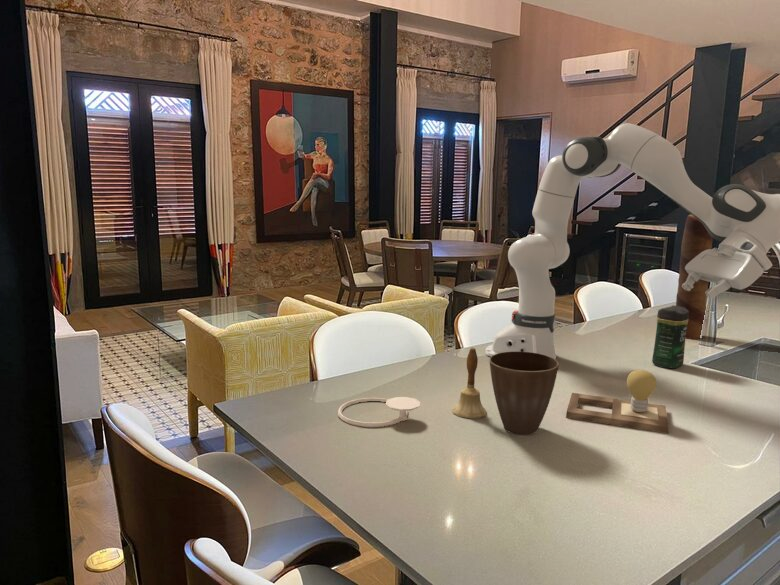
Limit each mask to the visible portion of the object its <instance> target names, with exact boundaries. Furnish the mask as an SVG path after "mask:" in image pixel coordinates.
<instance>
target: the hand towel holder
mask: <svg viewBox="0 0 780 585" xmlns="http://www.w3.org/2000/svg"><path fill="white" fill-rule="evenodd" d="M367 401H381V402H380V403H384V402H386V403H385V405H386V406H387V407H388V408H389V409H391V410H394V411H399V416H398V417H397V418H395V419H391V420H387V421H379V422H378V421H377V422H370V421H369V422H368V421H367V422H366V421H365V422H364V421H359V420H354V419H351V418H348V417H346V416H345V415H343V410H344V409H346V408H347V407H349V406H352V405H355V404H360V403H359V402H361V403H368V402H367ZM420 404H421V401H419V400H418V399H417V398H413V397H407V396H397V397H396V396H395V397H391V398H383V397H364V398H355V399H352V400H348V401H347V402H345V403H343V404H342V405H340V406H339V407H338V410H337V416H338V418H340V420H341V421H343V422H345V423H347V424H349V425H352V426H355V427H363V428H384V426H385V427H389V425H390V426H394V425H397V424H400V423H401V422H406V421H407V419H408V415H409V412H411V411H414V410H415V409H418V408H419V407H420ZM405 420H406V421H405ZM400 421H401V422H400ZM396 423H397V424H396ZM393 424H394V425H393Z"/></svg>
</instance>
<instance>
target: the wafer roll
mask: <svg viewBox="0 0 780 585" xmlns="http://www.w3.org/2000/svg"><path fill="white" fill-rule="evenodd" d="M682 234H683V236H682V238H681V247H680V248H681V249H680V256H679V258H680V260H679V261H680V262H679V272H678V281H677V282H678V283H677V284H678V286H677V292H676V296H675V297H676V299H675V301H676V302H675V306H680V307H685V308H686V309H687V310H688V311H689V318H688V324H687V329H686V338H685V339H689V338H690V340H692V339H695V340H700V339H699V338H700V335H701V330H702V324H703V320H704V315H705V310H706V311H707V295H706V294H705V292H706V291H707V290H708V289H709V283H710V282H709V281H705V280H701V279H699V280H698V281H697V282H696V281H695V283H694V284H693V286H694V287H693V288H692V289H691V290H690V291H687V290H684V289H683V288H682V285H683V284H684V283H685V282H686V280H687V278H688V275H689V274H688V273H687V271H686V270H685V267H686V265H687V264H688V263H689V262H690V261H691V260H692V259H694V258H695V257H696V256H697V255H699V254H700V253H701V252H703V251H705V250H708V249H713V247H712V246H713V242H714V241H713V240H714V238H712V237H711V236H710V234H709V233H708V232H707V230H706V228H705V227H704V225H703V224H702V223H701V222H700V221H699V220H698V219H697V218H696V217H694V216H693V215H692V214H688V215H687V218H686V221H685V224H684V229H683V233H682Z"/></svg>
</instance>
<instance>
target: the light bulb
mask: <svg viewBox="0 0 780 585" xmlns="http://www.w3.org/2000/svg"><path fill="white" fill-rule="evenodd" d="M626 386H627V389H628V391H629V392H630V394H631V395H632V396H631V398H630V399H631V400H630V401H631V409H632V410H633V411H635V412H640V413H643V412H645V411H647V410H648V403H649V397H651V395H652V394H653V393H654V392H655V390H656V388H657V380H656V377H655V375H654V374H653V373H652V372H650V371H648V370H644V369H635V370H633V371H631V372H630V373H629V374H628V376H627V377H626Z"/></svg>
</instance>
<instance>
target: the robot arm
mask: <svg viewBox="0 0 780 585" xmlns="http://www.w3.org/2000/svg"><path fill="white" fill-rule="evenodd" d="M562 151H563V152H562V155H561V154H560V155H555V156H554V157H551V159H550V160H549V161H548V162H547V165H546V167H545V169H544V171H543V174H542V176H541V180H540V182H539V186H538V189H537V193H536V196H535V200H534V202H533V208H532V211H531V212H532V213H531V214H532V217H533V219H534V226H535V227H534V234H533V236H524V237H522V238H520V239H518V240H516V241H514V242H513V243H511V245H510V247H509V249H508V251H507V258H508V262H509V264H510V266H511V267H512V268H513V269H514V271H515V275H516V277H517V283H518V292H519V293H518V310H517V309H514V311H512V312H511V313H512V314H511V323H509V324H507V325H506V326H504V327H503V328H501V329H500V330H498V331H497V332H496V333H495V335H494V337H493V341H492V344H489V345H488V346H487V347H486V348H485V351H484V353H485V355H486V356H488V357H491V356H493V355H495V354H498V353H502V352H532V353H538V354H542V355H546V356H549V357H552V358H554V359H555V360H557V359H556V358H557V355H556V350H555V343H554V342H555V339H554V331H555V328H556V314H555V300H556V289H555V287H554V286H553V284H552V282H551V279H550V274H549V270H551V269H555V268H558V267H559V266H561V265H563V264H564V263H566V261H567V260H568V258H569V256H570V253H571V252H570V244H569V243H568V224H569V219H570V215H571V211H572V208H573V205H574V200H575V198H576V194H577V190H578V187H579V184H580V183H581V181H582V180H583V179H585V178H588V179H589V178H590V179H591V178H604V177H607V176H611V175H613V174H615V173H616V172H617V171H618V170H619V169H620V168H621V166H623V167H624V168H626V169H628V170H630V171H631V172H633V173H634V174H636V175H637V176H639V177H641V178H642V179H644V181H647V182H648V183H649V184H650V185H652V186H654V187H655V188H656V189H658V190H660V191H661V192H662V193H663V194H664V195H666V196H667V197H668V198H669V199H670V200H672V202H674V203H676V204H677V205H678V206H680V207H681V208H682V209H684V210H685V211H686V212H687V213H689V215H693V216H694V217H696V218H697V219H698V220H699V221H700V222H701V223H702V224H703V225H704V227H705V228H706V230H707V232H708V233H709V234H710V236H711V237H712V238H713V240H715V241H717V242H720V243H719V244H718V247H714V248H713V247H712V248H711V249H708V250H705V251H703V252H701V253H700V254H699V255H697V256H696V257H695V258H694V259H692V260H691V261H690V262H689V263H688V264H687V265H686V267H685V270H686V271H687V273H688V274H689V275H688V278H687V280H686V282H685V283H684V284H683V285H682V288H683V289H684V290H687V291H690V290H691V289H692V288H693V287H694V286H693V284H694V283H695V281H696V282H697V281H698V280H699V279H701V280H705V281H709V283H712V284H716V285H714V286H713V287H708V290H707V291H706V292H705V294H706V297H708V298H710V299H714V298H715V297H717V296H718V295H719V294H722V293H724V292H725V291H728V290H729V289H730V288H733V289H736V290H739V291H741V290H744V289H746V288H748V287H749V286H751V285H753V283H755V281H757V280H758V279H759V278H760V277H762V275H763V273H764V272H765V271H768V270H769V269H771V267H773V263H772V261H771V260H770V258H769V257H768V256H767V254H768V252H769V250H771V248H772V247H774V246H775V245H777V244H779V243H780V193H774V194H773V193H772V194H770V193H764V192H760V191H756V190H753V189H752V188H750V187H748V186H747V185H743V184H740V183H734V184H733V183H732V184H726V185H724V186H722V187H720V188H719V189H717V190H716V191H715V193H713V196H710V195H709V194H708V193H706V192H705V191H704V190H702V189H701V188H700V187H699V186H697V185H696V184H694V183H693V181H692V180H691V178H690V177H689V175H688V173H687V171H686V169H685V165H684V161H683V157H682V154H681V152H680V150H679V149H678V148H677V147H676V146H675V145H673V143H672V142H670V141H669V140H668V139H666V138H664V137H663V136H661V135H659V134H657V133H656V132H654V131H653V130H649V129H647V128H645V127H643V126H640V125H637V124H633V123H630V122H625V123H622V124H620V125H618V126H616V127H615V129H613V131H612V132H611V133H610V135H608V137H605V138H603V137H602V136H582V137H581V136H580V137H578V138H574V139H573V140H571V141H569V142H568V143H567V145H566V146H565V147H564V149H563V150H562Z"/></svg>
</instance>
